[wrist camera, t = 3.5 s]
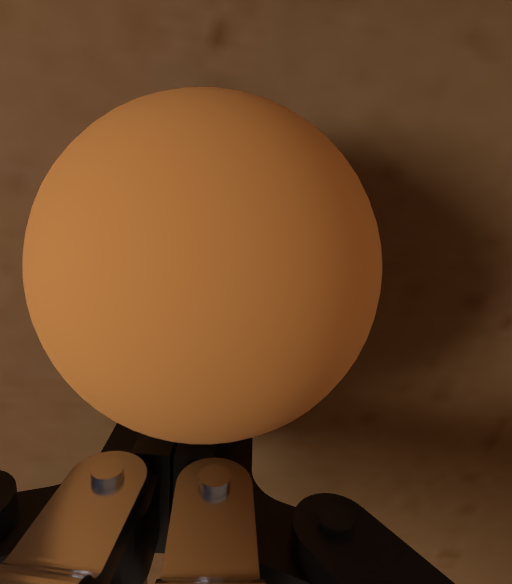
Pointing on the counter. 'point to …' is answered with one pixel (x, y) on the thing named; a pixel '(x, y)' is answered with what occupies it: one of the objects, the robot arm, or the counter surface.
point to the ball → (202, 265)
